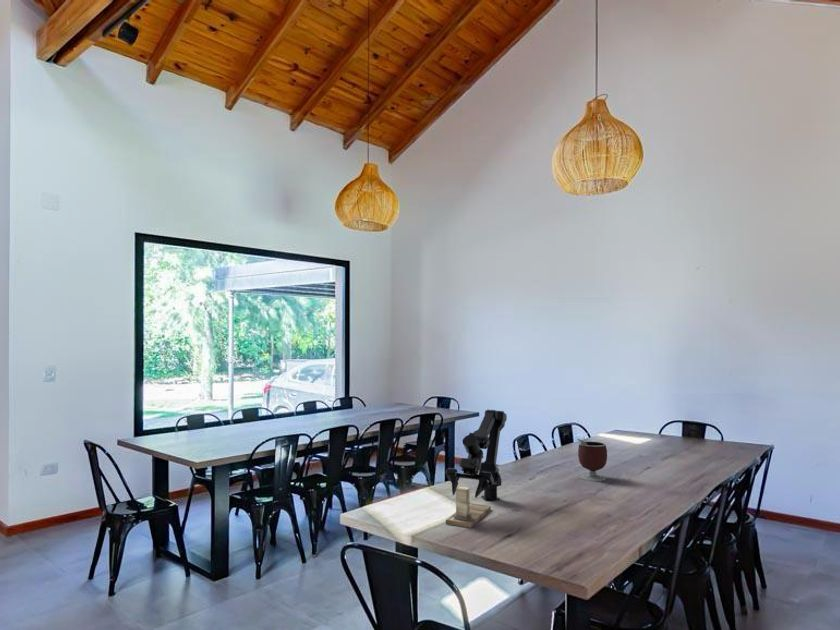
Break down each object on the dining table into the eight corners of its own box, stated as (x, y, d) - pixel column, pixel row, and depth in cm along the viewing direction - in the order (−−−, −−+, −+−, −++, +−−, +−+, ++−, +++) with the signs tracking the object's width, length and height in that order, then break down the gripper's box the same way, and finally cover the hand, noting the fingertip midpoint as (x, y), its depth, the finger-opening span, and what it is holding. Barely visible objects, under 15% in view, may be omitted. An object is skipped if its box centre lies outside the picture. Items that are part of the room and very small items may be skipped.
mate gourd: (596, 473, 291) (595, 434, 292) (613, 480, 278) (612, 439, 278) (570, 476, 286) (569, 436, 287) (586, 482, 273) (585, 441, 274)
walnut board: (467, 506, 235) (467, 502, 235) (490, 509, 231) (490, 505, 231) (445, 523, 213) (445, 519, 213) (470, 527, 209) (470, 523, 209)
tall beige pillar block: (459, 514, 219) (459, 486, 220) (471, 516, 217) (471, 487, 217) (454, 518, 215) (454, 489, 215) (466, 520, 213) (466, 490, 213)
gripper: (447, 447, 227) (436, 481, 217) (491, 451, 219) (482, 486, 209) (454, 463, 234) (444, 497, 223) (497, 467, 226) (489, 503, 216)
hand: (464, 495), depth 218 cm, fingers open, 9 cm apart
